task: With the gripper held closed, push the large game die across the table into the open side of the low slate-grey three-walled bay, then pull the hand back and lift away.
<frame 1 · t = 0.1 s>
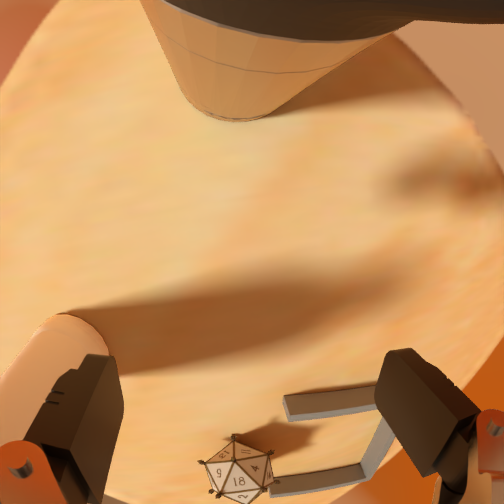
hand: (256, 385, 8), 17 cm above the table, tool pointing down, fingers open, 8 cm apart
bottle: (74, 347, 26), on the table
bay: (332, 439, 34), on the table
game die: (236, 447, 32), on the table
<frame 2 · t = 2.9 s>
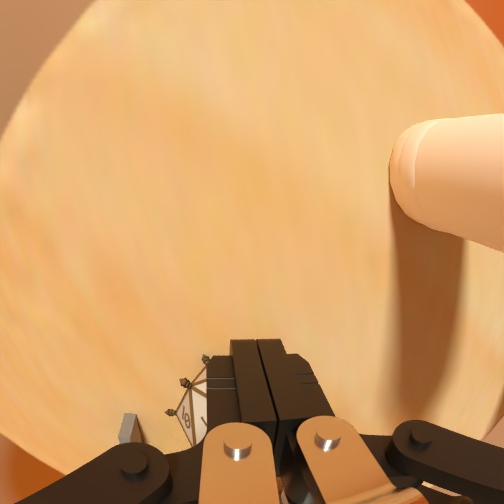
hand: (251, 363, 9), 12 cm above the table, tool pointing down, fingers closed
bottle: (427, 173, 21), on the table
bay: (228, 467, 26), on the table
game die: (230, 377, 23), on the table
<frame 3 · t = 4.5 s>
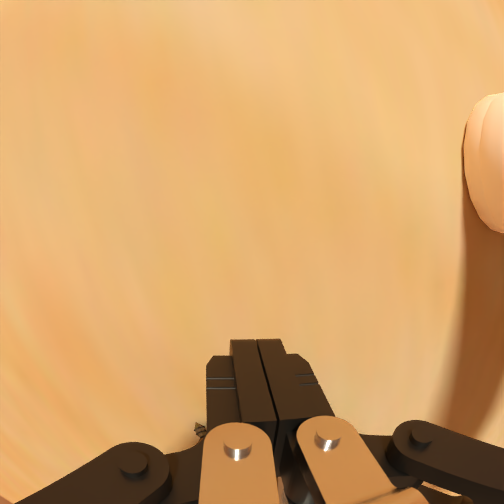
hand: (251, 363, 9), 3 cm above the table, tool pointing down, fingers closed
bottle: (501, 163, 13), on the table
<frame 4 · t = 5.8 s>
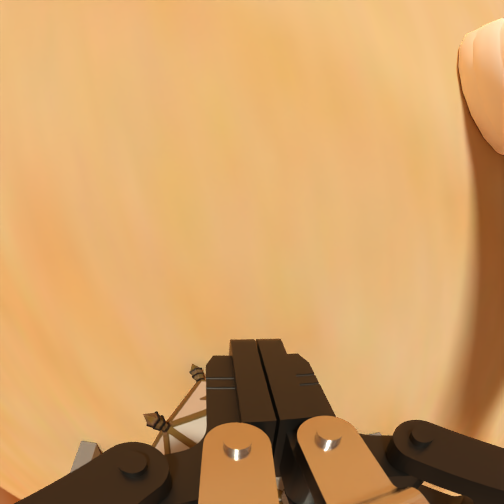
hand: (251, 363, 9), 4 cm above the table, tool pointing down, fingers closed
bottle: (497, 92, 12), on the table
game die: (235, 399, 14), on the table, touching gripper
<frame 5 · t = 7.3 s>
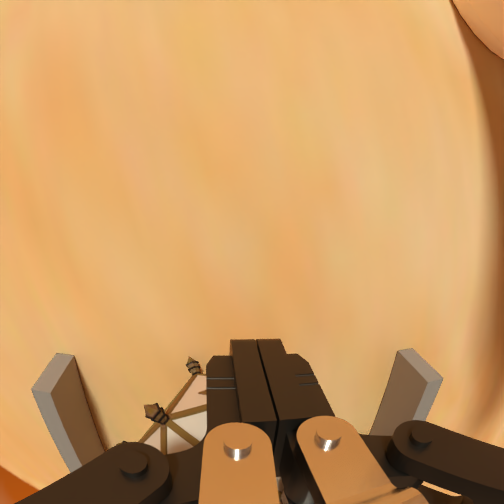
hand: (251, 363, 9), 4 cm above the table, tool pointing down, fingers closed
bottle: (484, 8, 10), on the table
bay: (239, 462, 15), on the table
game die: (227, 395, 14), on the table, touching gripper
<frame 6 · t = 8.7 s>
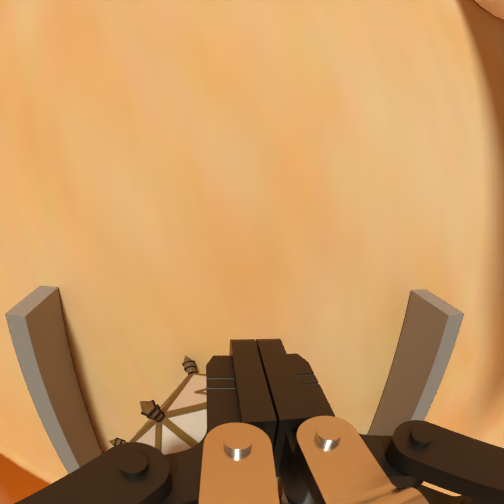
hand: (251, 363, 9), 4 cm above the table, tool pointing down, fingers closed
bay: (237, 426, 14), on the table
game die: (221, 396, 14), on the table, touching gripper
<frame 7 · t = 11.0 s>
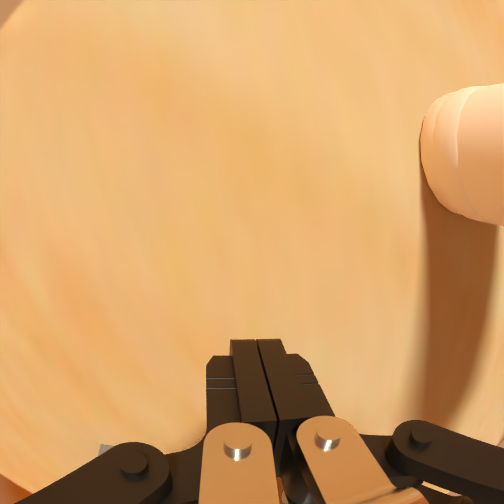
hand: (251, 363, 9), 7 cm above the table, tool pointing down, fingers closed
bottle: (460, 153, 16), on the table
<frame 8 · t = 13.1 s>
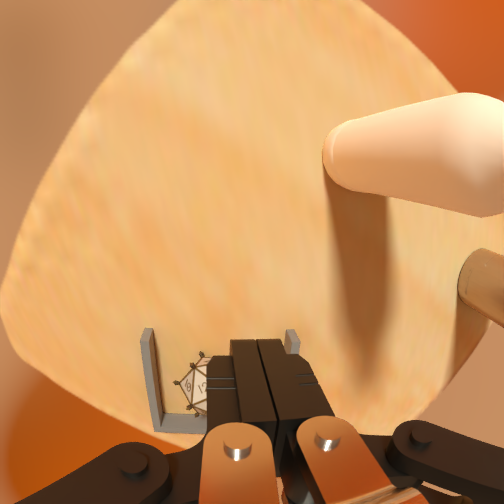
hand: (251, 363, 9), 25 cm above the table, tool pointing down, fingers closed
bottle: (352, 156, 33), on the table
bay: (219, 380, 38), on the table
game die: (213, 367, 38), on the table
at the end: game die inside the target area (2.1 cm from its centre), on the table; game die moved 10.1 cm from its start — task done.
